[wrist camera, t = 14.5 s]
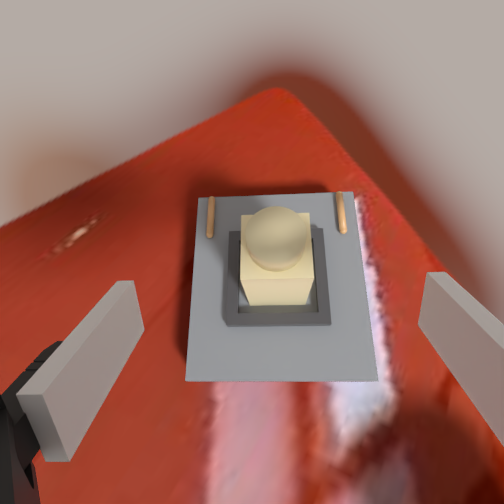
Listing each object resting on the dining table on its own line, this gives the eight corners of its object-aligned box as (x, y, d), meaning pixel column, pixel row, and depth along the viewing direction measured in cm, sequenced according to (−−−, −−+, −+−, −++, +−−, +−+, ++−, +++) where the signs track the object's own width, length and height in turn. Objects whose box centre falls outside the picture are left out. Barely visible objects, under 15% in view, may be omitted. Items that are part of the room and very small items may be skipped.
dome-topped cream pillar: (249, 305, 30) (236, 270, 21) (250, 254, 32) (238, 201, 22) (305, 304, 29) (317, 268, 20) (302, 253, 31) (311, 198, 22)
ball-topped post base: (196, 381, 32) (182, 380, 27) (206, 215, 38) (196, 192, 34) (366, 381, 30) (381, 381, 26) (345, 210, 37) (355, 186, 32)
